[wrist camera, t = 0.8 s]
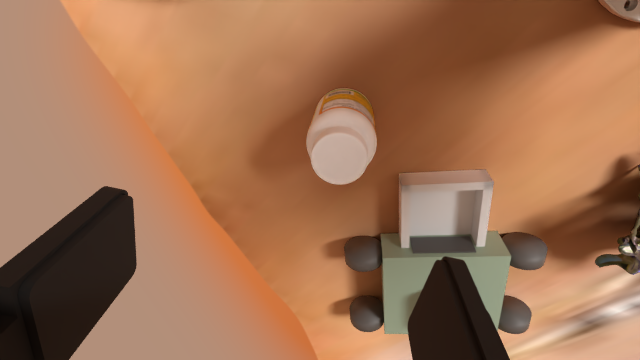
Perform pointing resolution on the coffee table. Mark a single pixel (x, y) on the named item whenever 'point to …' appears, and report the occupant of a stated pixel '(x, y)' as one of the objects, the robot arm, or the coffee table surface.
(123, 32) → the coffee table surface
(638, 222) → the passion flower
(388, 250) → the green wheeled cart
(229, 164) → the coffee table surface
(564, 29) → the coffee table surface
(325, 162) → the supplement bottle
